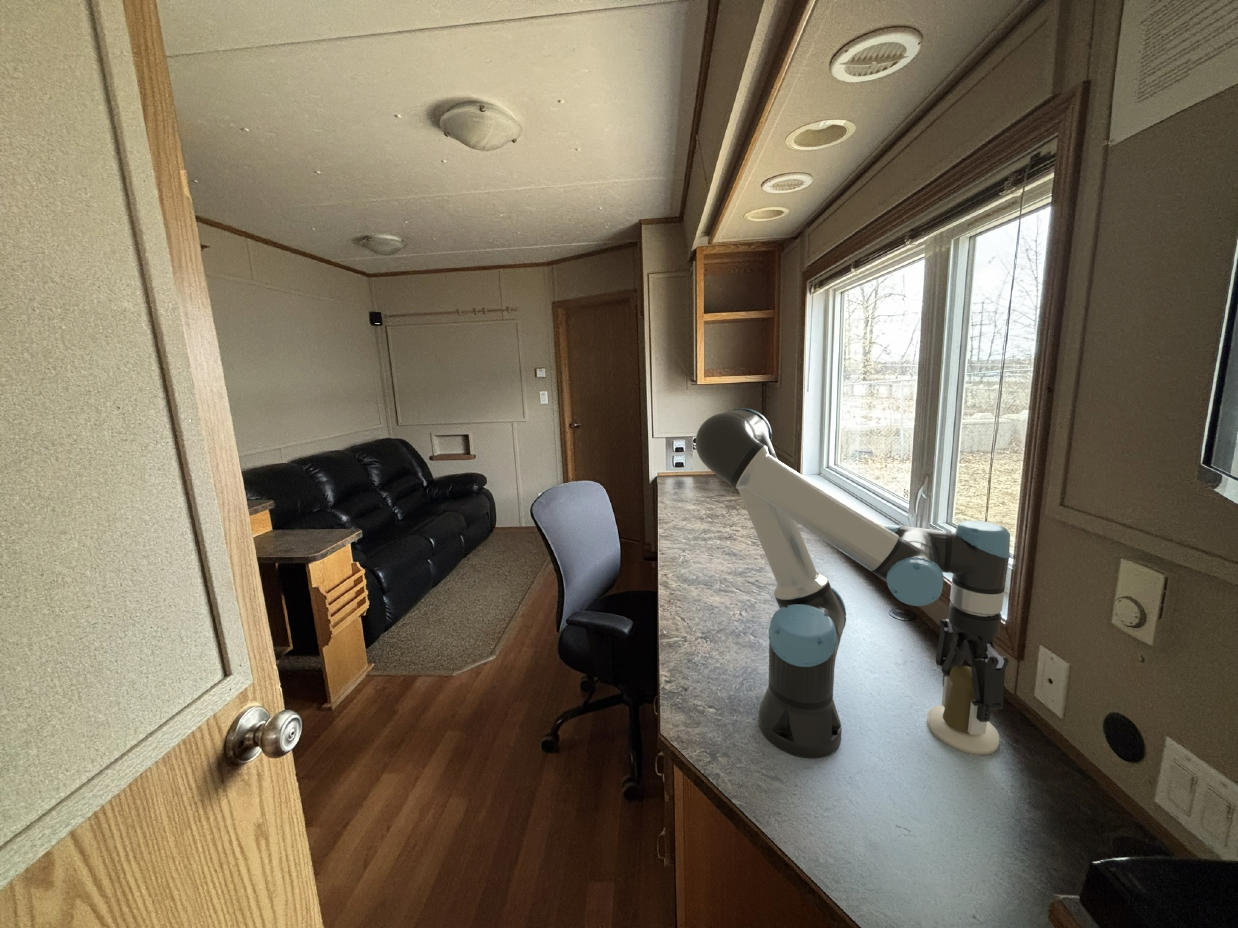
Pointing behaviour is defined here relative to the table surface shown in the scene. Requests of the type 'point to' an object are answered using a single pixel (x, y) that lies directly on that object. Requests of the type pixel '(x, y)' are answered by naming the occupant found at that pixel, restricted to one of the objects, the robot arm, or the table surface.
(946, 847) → the table surface
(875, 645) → the table surface
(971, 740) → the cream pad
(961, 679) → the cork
